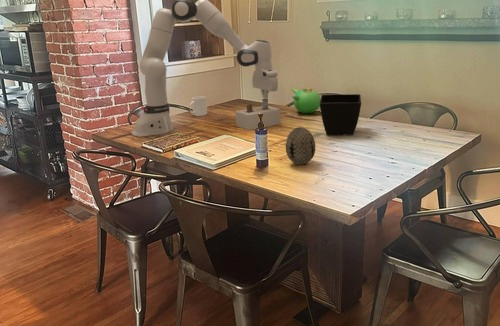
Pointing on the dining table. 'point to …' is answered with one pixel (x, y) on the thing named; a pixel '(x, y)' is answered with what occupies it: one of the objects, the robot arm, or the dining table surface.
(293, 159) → the decorative egg
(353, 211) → the dining table surface
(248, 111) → the walnut plug
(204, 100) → the mug
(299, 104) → the green teapot
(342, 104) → the flower pot
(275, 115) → the socket block
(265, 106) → the metal plug
